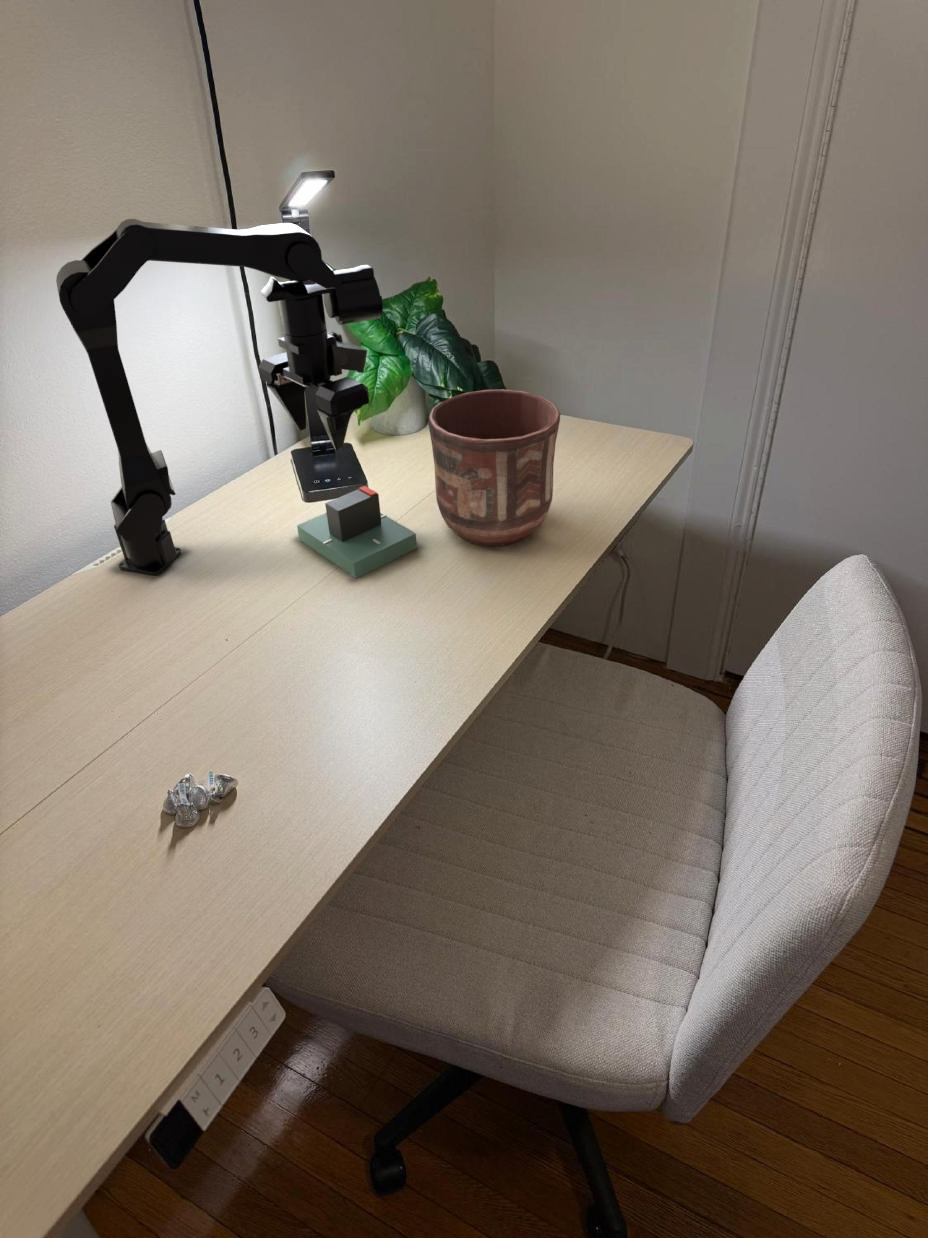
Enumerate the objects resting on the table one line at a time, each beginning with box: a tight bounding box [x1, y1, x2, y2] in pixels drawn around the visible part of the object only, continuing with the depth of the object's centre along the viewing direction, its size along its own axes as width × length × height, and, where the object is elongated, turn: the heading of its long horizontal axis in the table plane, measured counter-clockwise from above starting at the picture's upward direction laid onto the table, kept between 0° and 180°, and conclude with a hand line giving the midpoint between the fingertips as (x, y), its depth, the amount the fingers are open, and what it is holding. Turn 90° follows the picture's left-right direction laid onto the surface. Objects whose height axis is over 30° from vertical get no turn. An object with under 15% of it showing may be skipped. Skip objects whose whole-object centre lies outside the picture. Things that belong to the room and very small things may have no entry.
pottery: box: [428, 389, 561, 547], centre depth 117 cm, size 18×18×18 cm
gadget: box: [324, 485, 381, 542], centre depth 116 cm, size 7×3×5 cm, turn 132°
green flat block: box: [296, 512, 418, 579], centre depth 119 cm, size 14×11×3 cm
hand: (320, 438), depth 118 cm, fingers open, 9 cm apart
